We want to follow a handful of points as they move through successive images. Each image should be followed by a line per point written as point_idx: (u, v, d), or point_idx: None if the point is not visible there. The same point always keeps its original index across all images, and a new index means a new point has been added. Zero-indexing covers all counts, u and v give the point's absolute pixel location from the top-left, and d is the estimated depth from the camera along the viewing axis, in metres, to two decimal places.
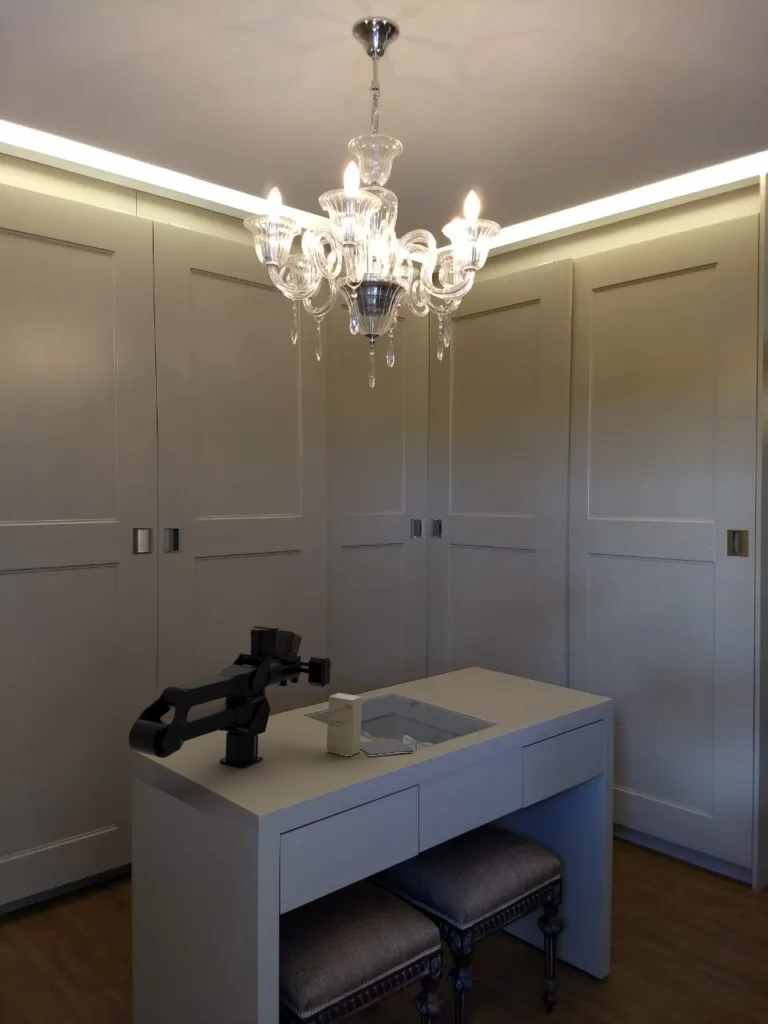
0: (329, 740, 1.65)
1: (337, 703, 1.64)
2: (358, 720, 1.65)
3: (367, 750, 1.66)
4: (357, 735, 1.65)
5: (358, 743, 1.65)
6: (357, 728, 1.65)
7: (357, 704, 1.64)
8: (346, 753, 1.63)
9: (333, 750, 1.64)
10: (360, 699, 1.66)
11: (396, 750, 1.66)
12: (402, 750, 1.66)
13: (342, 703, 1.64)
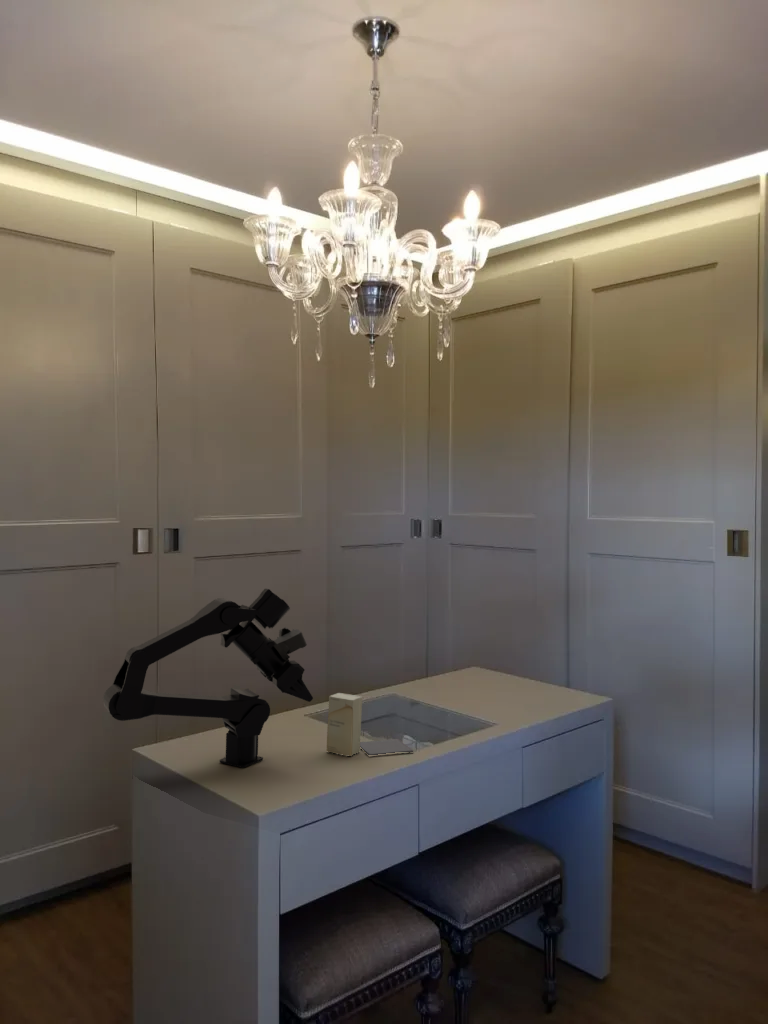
0: (329, 740, 1.65)
1: (337, 703, 1.64)
2: (358, 720, 1.65)
3: (367, 750, 1.66)
4: (357, 735, 1.65)
5: (358, 743, 1.65)
6: (357, 728, 1.65)
7: (357, 704, 1.64)
8: (346, 753, 1.63)
9: (333, 750, 1.64)
10: (360, 699, 1.66)
11: (396, 750, 1.66)
12: (402, 750, 1.66)
13: (342, 703, 1.64)
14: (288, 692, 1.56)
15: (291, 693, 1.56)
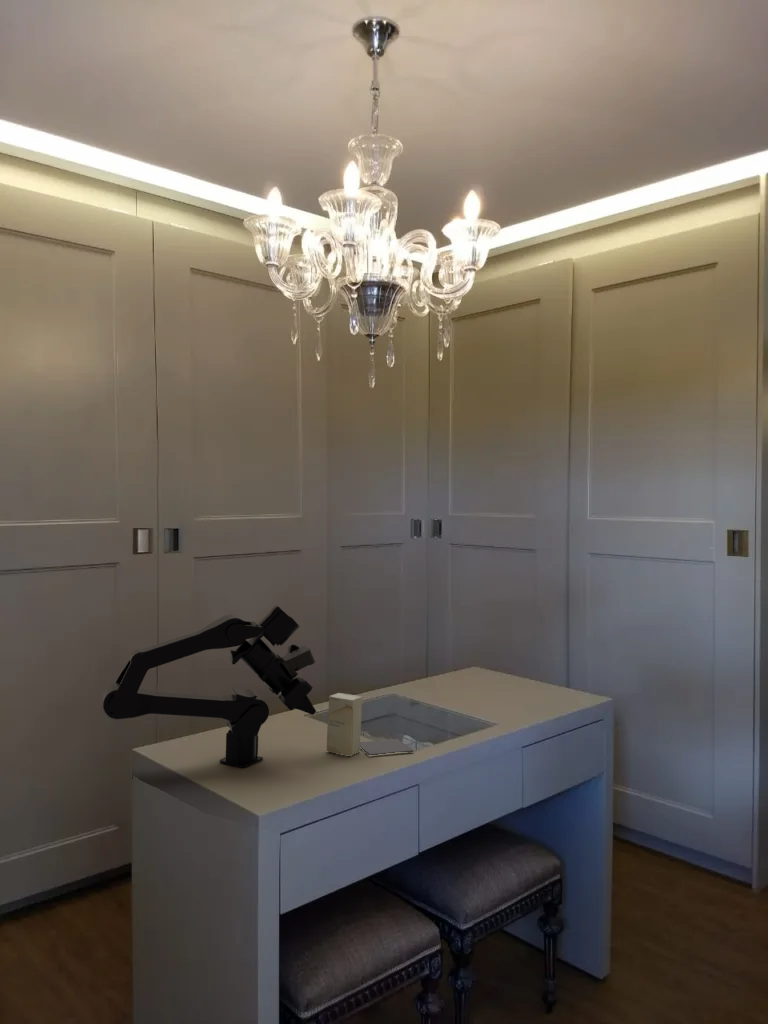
0: (329, 740, 1.65)
1: (337, 703, 1.64)
2: (358, 720, 1.65)
3: (367, 750, 1.66)
4: (357, 735, 1.65)
5: (358, 743, 1.65)
6: (357, 728, 1.65)
7: (357, 704, 1.64)
8: (346, 753, 1.63)
9: (333, 750, 1.64)
10: (360, 699, 1.66)
11: (396, 750, 1.66)
12: (402, 750, 1.66)
13: (342, 703, 1.64)
14: None
15: (294, 706, 1.60)
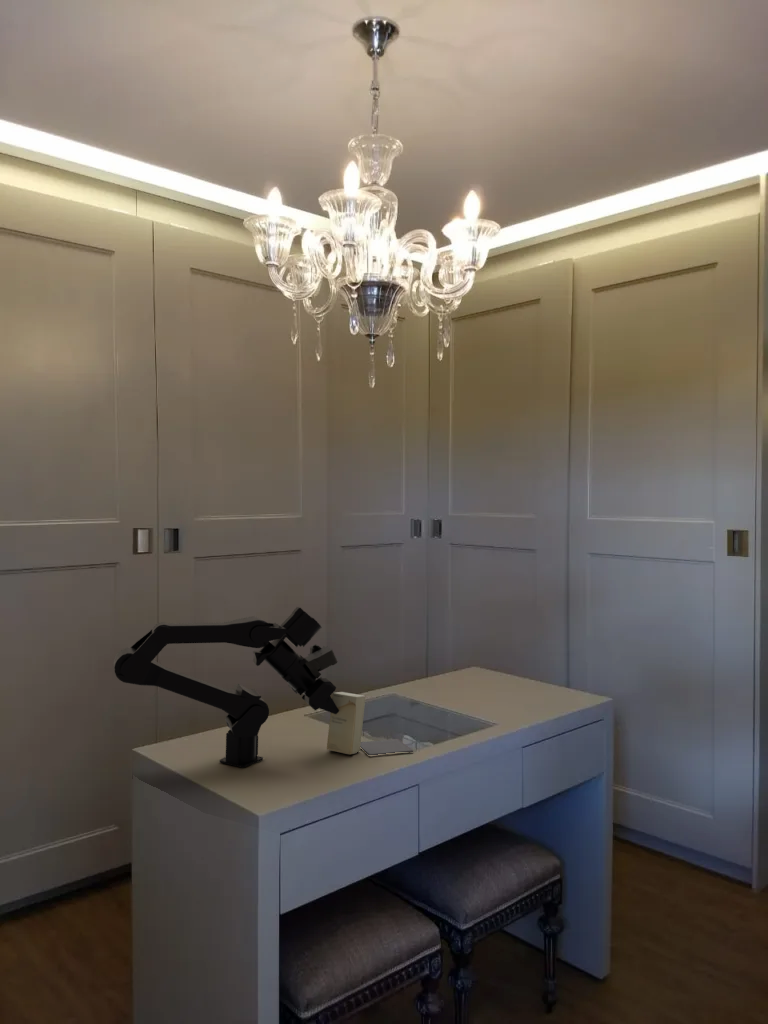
0: (330, 737, 1.65)
1: (340, 700, 1.66)
2: (360, 719, 1.66)
3: (367, 750, 1.66)
4: (358, 734, 1.65)
5: (359, 742, 1.66)
6: (359, 726, 1.65)
7: (360, 702, 1.66)
8: (346, 750, 1.63)
9: (334, 747, 1.65)
10: (363, 698, 1.67)
11: (396, 750, 1.66)
12: (402, 750, 1.66)
13: (345, 700, 1.65)
14: None
15: None
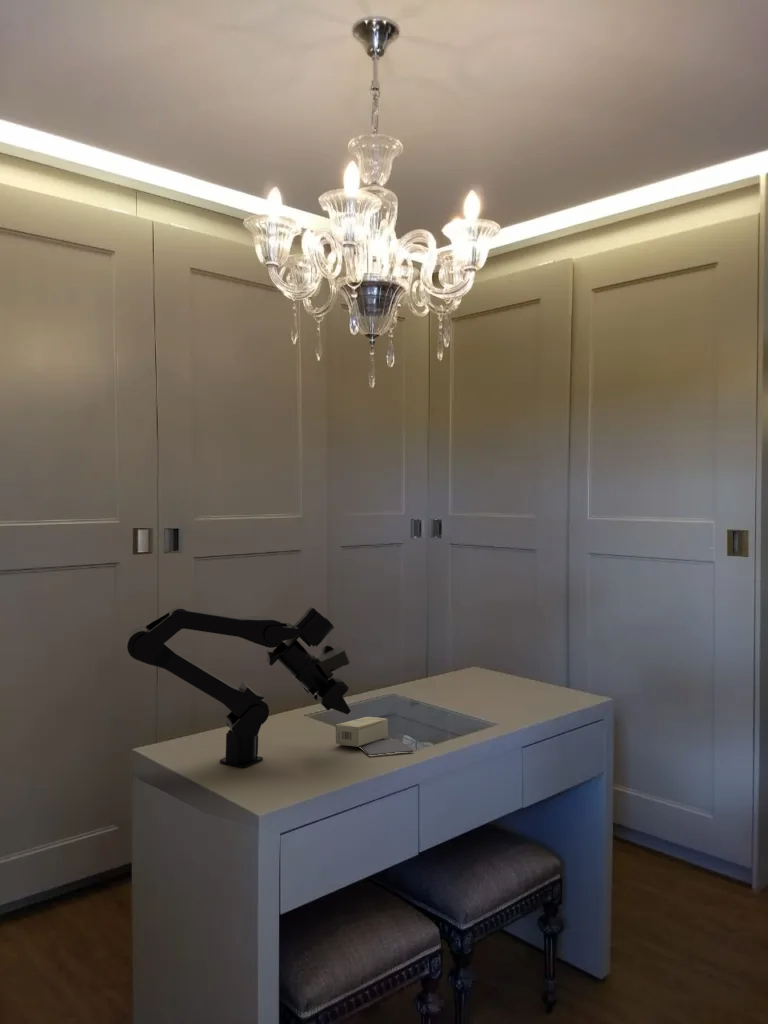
0: (345, 723, 1.72)
1: (371, 717, 1.78)
2: (376, 735, 1.72)
3: (367, 750, 1.66)
4: (368, 736, 1.70)
5: (363, 740, 1.68)
6: (372, 734, 1.71)
7: (384, 728, 1.76)
8: (356, 726, 1.68)
9: (344, 724, 1.70)
10: (386, 733, 1.76)
11: (396, 750, 1.66)
12: (402, 750, 1.66)
13: (376, 718, 1.77)
14: None
15: None
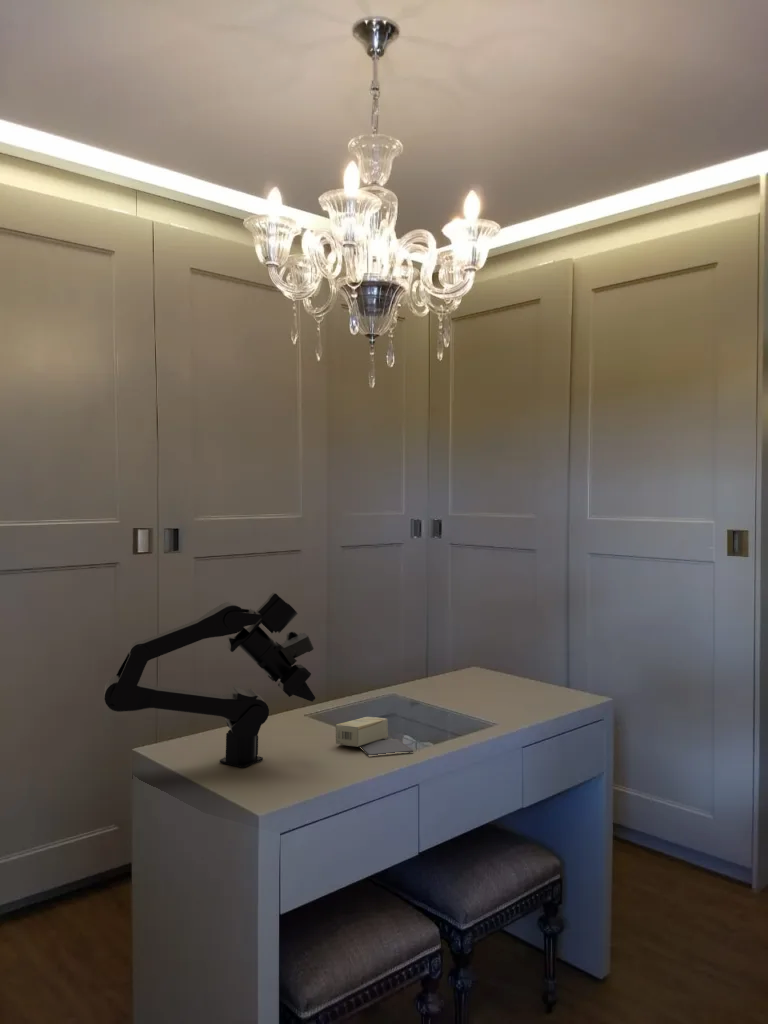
0: (345, 723, 1.72)
1: (371, 717, 1.78)
2: (376, 735, 1.72)
3: (367, 750, 1.66)
4: (368, 736, 1.70)
5: (363, 740, 1.68)
6: (372, 734, 1.71)
7: (384, 728, 1.76)
8: (356, 726, 1.68)
9: (344, 724, 1.70)
10: (386, 733, 1.76)
11: (396, 750, 1.66)
12: (402, 750, 1.66)
13: (376, 718, 1.77)
14: None
15: (294, 693, 1.60)
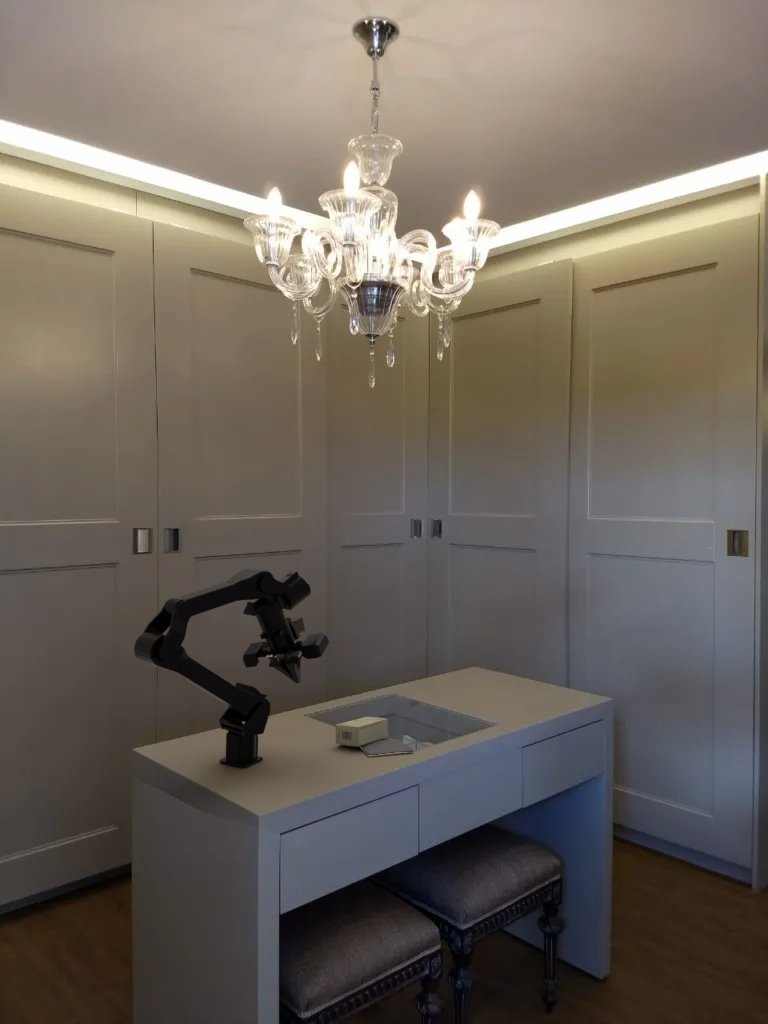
0: (345, 723, 1.72)
1: (371, 717, 1.78)
2: (376, 735, 1.72)
3: (367, 750, 1.66)
4: (368, 736, 1.70)
5: (363, 740, 1.68)
6: (372, 734, 1.71)
7: (384, 728, 1.76)
8: (356, 726, 1.68)
9: (344, 724, 1.70)
10: (386, 733, 1.76)
11: (396, 750, 1.66)
12: (402, 750, 1.66)
13: (376, 718, 1.77)
14: (294, 666, 1.64)
15: (295, 668, 1.65)
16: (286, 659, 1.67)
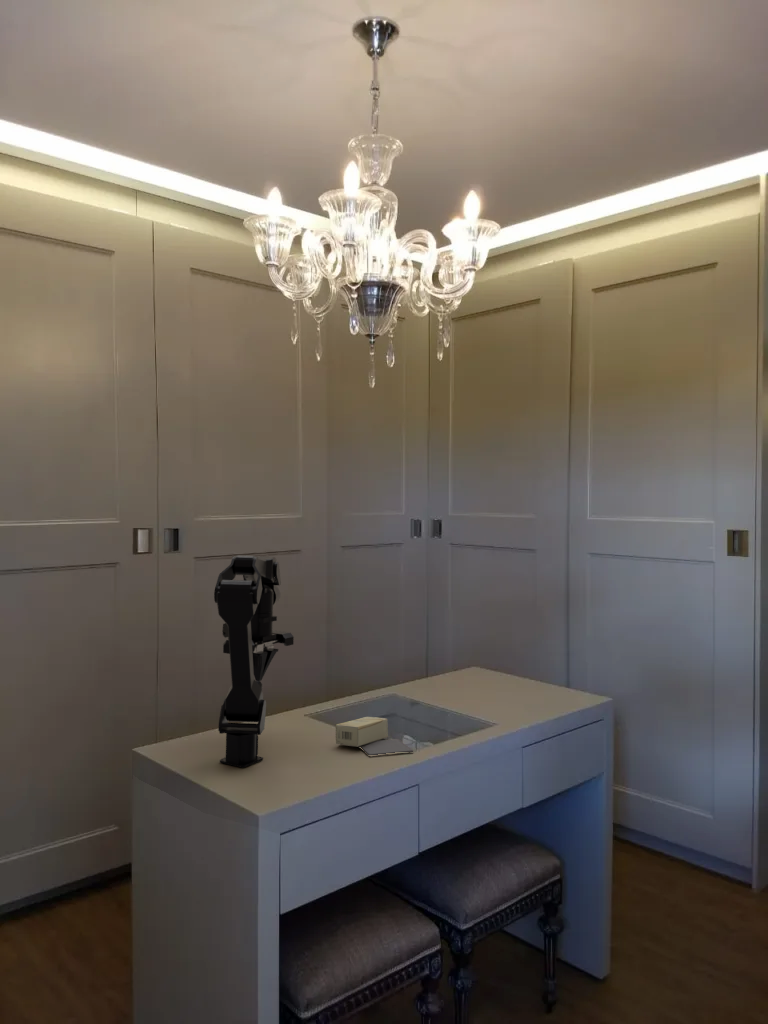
0: (345, 723, 1.72)
1: (371, 717, 1.78)
2: (376, 735, 1.72)
3: (367, 750, 1.66)
4: (368, 736, 1.70)
5: (363, 740, 1.68)
6: (372, 734, 1.71)
7: (384, 728, 1.76)
8: (356, 726, 1.68)
9: (344, 724, 1.70)
10: (386, 733, 1.76)
11: (396, 750, 1.66)
12: (402, 750, 1.66)
13: (376, 718, 1.77)
14: None
15: None
16: None
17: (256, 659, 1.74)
